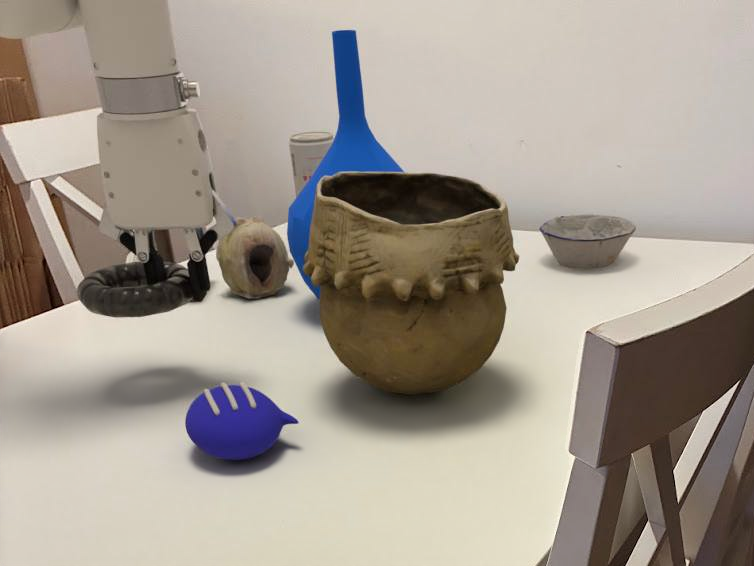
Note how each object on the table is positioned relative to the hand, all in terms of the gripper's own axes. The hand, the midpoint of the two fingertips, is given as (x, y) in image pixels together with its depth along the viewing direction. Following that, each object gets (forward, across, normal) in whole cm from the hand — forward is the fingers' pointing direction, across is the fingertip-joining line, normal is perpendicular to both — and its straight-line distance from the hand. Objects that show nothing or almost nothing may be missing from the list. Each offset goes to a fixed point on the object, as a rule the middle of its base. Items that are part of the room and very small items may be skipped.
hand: (181, 296), depth 101 cm
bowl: (+9, -46, -39) cm, 61 cm away
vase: (+9, -17, -23) cm, 30 cm away
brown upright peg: (+9, +10, -32) cm, 35 cm away
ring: (-1, +4, 0) cm, 4 cm away
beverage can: (+9, -8, -53) cm, 54 cm away
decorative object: (+9, -8, +17) cm, 21 cm away
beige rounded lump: (+9, -2, -31) cm, 32 cm away
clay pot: (+9, -24, +4) cm, 26 cm away
